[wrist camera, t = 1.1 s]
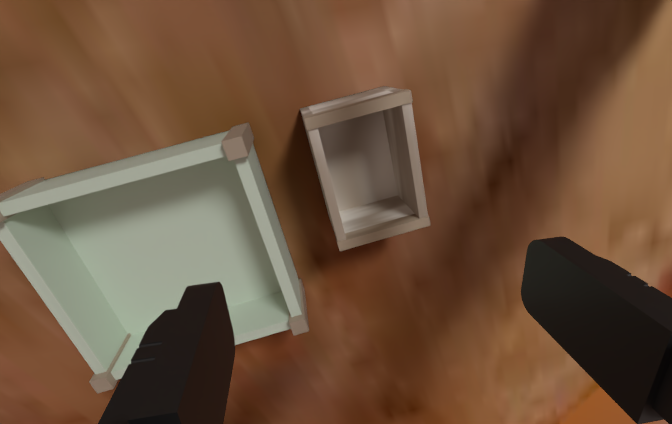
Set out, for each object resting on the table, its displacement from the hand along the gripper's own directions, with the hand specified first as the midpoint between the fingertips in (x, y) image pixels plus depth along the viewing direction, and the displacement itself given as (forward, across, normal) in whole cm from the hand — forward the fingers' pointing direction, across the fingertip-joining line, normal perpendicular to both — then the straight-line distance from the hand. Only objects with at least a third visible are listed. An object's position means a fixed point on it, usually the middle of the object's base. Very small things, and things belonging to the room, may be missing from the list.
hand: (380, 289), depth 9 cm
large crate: (+19, +12, +7) cm, 23 cm away
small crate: (+19, -3, +2) cm, 20 cm away
